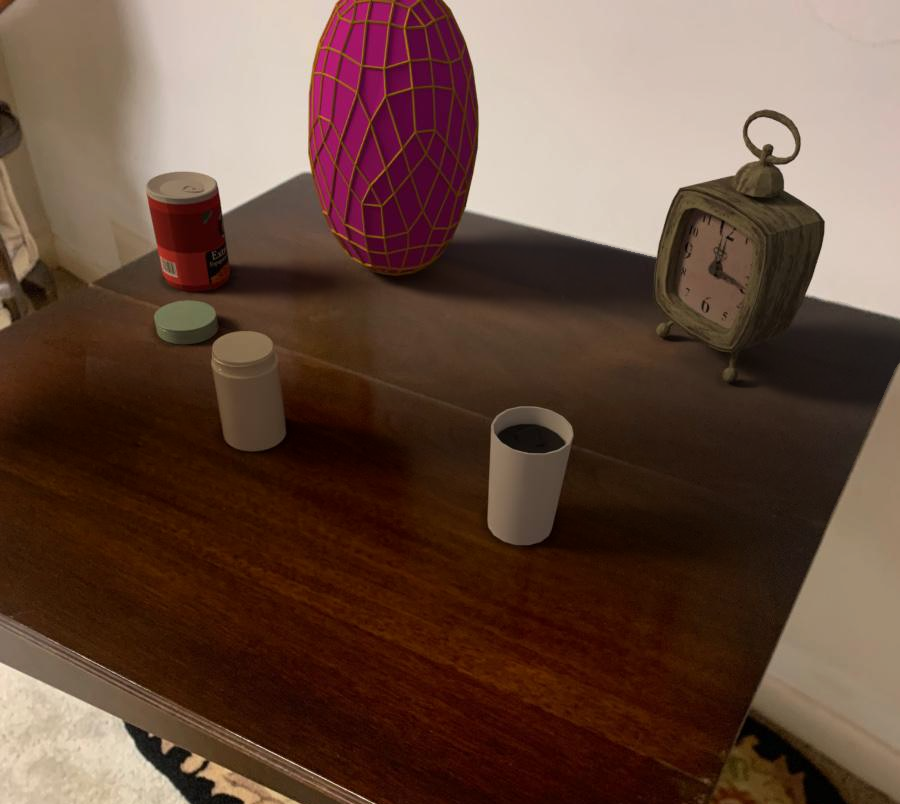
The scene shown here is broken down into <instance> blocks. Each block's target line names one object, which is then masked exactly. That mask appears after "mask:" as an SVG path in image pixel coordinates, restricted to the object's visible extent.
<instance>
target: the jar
mask: <svg viewBox="0 0 900 804" xmlns="http://www.w3.org/2000/svg"><path fill="white" fill-rule="evenodd" d="M211 347H212V348H211V362H210V365H211V371H212V377H213V382H214V389H215V393H216V394H215V395H216V401H217V406H218V412H219V418H220V423H221V431H222V436H223V439H224V441H225V442H226V443H227V444H228V445H229V446H230V447H232V448H233V449H236V450H239V451H243V452H260V451H265V450H269V449H272V448H274V447H276V446H278V445H279V444H280V443H282V441H284V439H285V438H286V435H287V423H286V415H285V406H284V397H283V388H282V378H281V369H280V368H281V367H280V361H279V355H278V353H277V352H276V347H275V345H274V342H273V340H272V339H271V338H270V337H269V336H268V335H266V334H264V333H262V332H257V331H251V330H238V331H233V332H230V333H225V334H224V335H222V336H220V337H218V338H217V339H215V341H214V342H213V343H212V346H211Z"/></svg>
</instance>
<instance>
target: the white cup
mask: <svg viewBox="0 0 900 804" xmlns="http://www.w3.org/2000/svg"><path fill="white" fill-rule="evenodd" d="M573 440H574V430H573V426H572V424H571V423H570V422H569V421H568V420H567V419H566V418H565V417H564V416H563V415H561V414H559V413H557V412H556V411H553V410H551V409H547V408H544V407H539V406H529V405H528V406H525V405H524V406H523V405H521V406H516V407H512V408H507V409H505V410H504V411H502V412H500V413H498V414H497V415H496V416H495V417H494V419H493V421H492V423H491V425H490V450H489V453H490V454H489V473H488V474H489V475H488V497H487V498H488V499H487V519H486V520H487V528H488V529H489V531H490V532H491V533H492V535H493V536H494V537H496V538H497V539H500V541H502V542H504V543H507V544H511V545H514V546H531V545H534V544H539V543H541V542H543V541H544V540H546V539H547V538H548V537H549V536H550V534H551V532H552V529H553V525H554V521H555V516H556V513H557V509H558V505H559V499H560V496H561V491H562V487H563V483H564V480H565V479H564V478H565V475H566V470H567V466H568V461H569V457H570V452H571V448H572V444H573Z"/></svg>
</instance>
